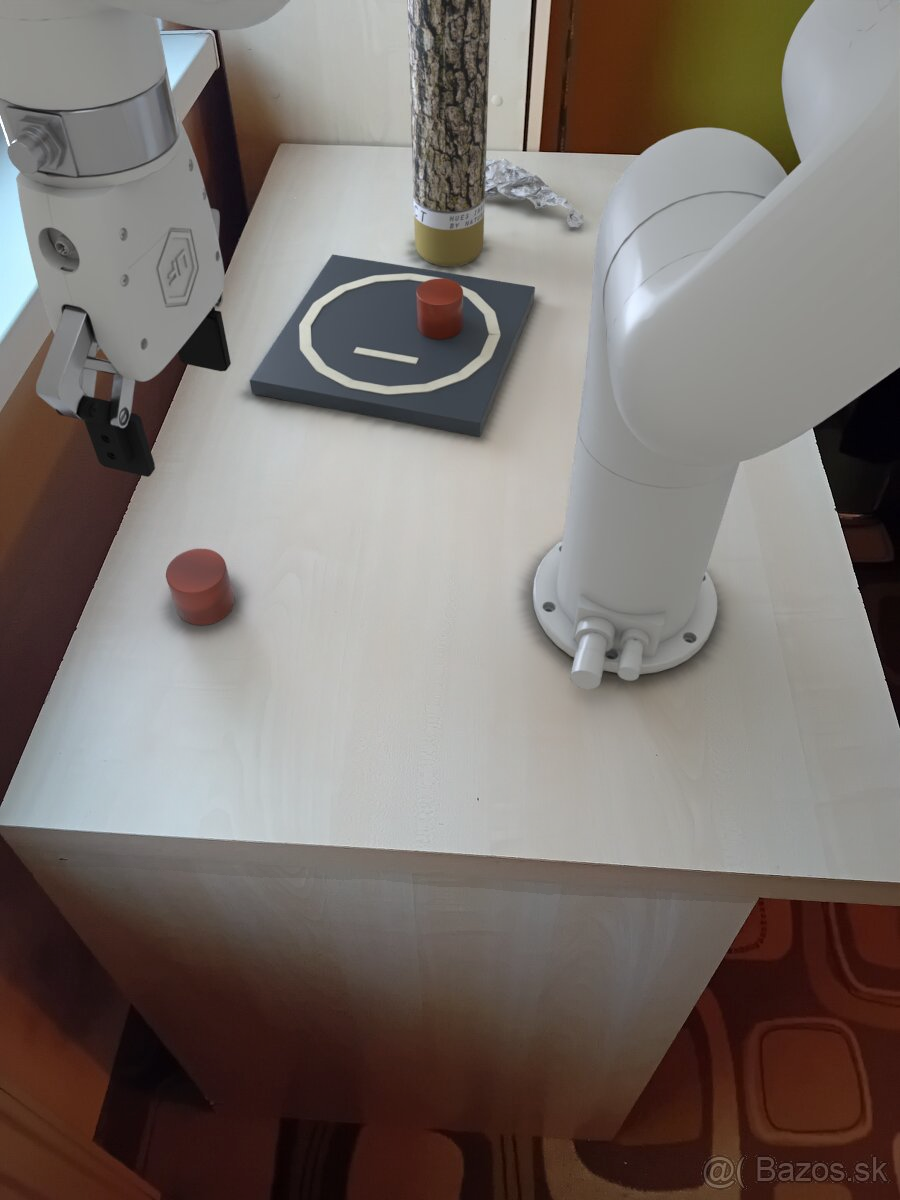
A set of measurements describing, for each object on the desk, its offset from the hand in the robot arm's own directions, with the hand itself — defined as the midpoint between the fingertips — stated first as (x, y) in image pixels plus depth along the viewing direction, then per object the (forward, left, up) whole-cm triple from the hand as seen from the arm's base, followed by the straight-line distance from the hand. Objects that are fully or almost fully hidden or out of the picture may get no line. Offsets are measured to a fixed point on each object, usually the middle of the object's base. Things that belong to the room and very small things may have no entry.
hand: (169, 413), depth 57 cm
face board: (+30, -4, -15) cm, 34 cm away
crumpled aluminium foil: (+57, -9, -14) cm, 59 cm away
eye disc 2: (+32, -7, -14) cm, 35 cm away
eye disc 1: (-2, 0, -15) cm, 16 cm away
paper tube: (+46, -4, -16) cm, 49 cm away
